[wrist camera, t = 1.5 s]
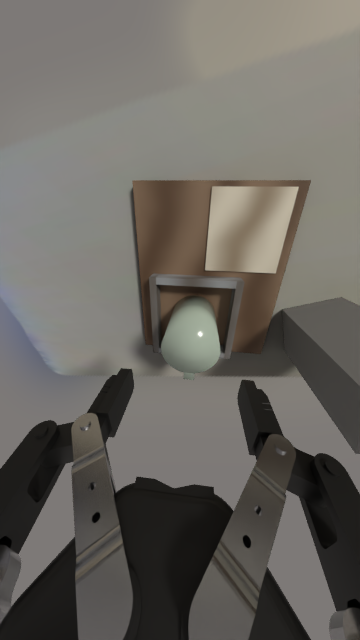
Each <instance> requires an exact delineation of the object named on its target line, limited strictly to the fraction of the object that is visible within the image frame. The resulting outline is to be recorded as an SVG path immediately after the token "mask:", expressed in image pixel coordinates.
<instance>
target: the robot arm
mask: <svg viewBox="0 0 360 640" xmlns="http://www.w3.org/2000/svg"><path fill="white" fill-rule="evenodd" d="M133 389H134V380H133V373H132V369H123V368H121V369H120V371H119V373H118V374H117V375H112V376H111V377H110V378H109V379H108V380H107V381H106V383H105V384H104V386H103V388H102V389H101V391H100V393H99V394H98V396H97V397H96V399H95V401H94V402H93V404H92V405H91V407H90V409H89V410H88V412H87V413H86V414H84V415H82V416H80V417H79V418H77V419H76V420H75V422H72V423H67V424H62V425H57V424H56V423H55V422H54V421H51V420H48V421H44V422H42V423H40V424H38V425H36V426H35V427H34V428H33V429H32V430H31V431H30V432H29V434H28V435H27V436H26V437H25V438H24V440H23V441H22V442H21V443H20V445H19V446H18V447H17V449H16V450H15V451H14V452H13V454H12V455H11V456H10V457H9V459H8V460H7V462H6V463H5V464H4V465H3V466H2V468H1V469H0V640H311V639H310V637H309V636H308V634H307V632H306V631H305V629H304V627H303V626H302V624H301V622H300V621H299V619H298V617H297V616H296V614H295V612H294V611H293V609H292V607H291V606H290V604H289V602H288V601H287V599H286V597H285V596H284V594H283V592H282V591H281V589H280V587H279V586H278V584H277V582H276V581H275V579H274V577H273V576H272V574H271V572H270V571H269V569H268V567H267V564H268V561H269V557H270V554H271V550H272V547H273V543H274V540H275V536H276V533H277V529H278V526H279V522H280V518H281V515H282V511H283V508H284V504H285V500H286V495H285V493H286V490H288V491H290V492H291V493H293V494H296V495H297V496H299V498H300V501H301V504H302V507H303V510H304V513H305V516H306V520H307V523H308V526H309V529H310V531H311V535H312V538H313V541H314V543H315V546H316V550H317V553H318V556H319V559H320V562H321V565H322V568H323V571H324V574H325V577H326V580H327V583H328V587H329V589H330V593H331V595H332V599H333V602H334V604H335V608H336V611H337V612H335V613H334V614H333V615H332V616H331V618H330V624H329V630H330V637H331V640H360V494H359V492H358V490H357V489H356V487H355V485H354V483H353V481H352V480H351V478H350V476H349V475H348V472H347V471H346V469H345V468H344V467H343V466H342V465H341V464H340V463H339V462H338V461H337V460H336V459H334V458H333V457H331V456H329V455H327V454H323V453H319V454H317V455H316V456H315V457H314V456H312V455H309V454H307V453H305V452H302V451H300V450H298V449H296V448H295V447H293V445H292V444H291V442H290V441H289V440H288V439H286V438H285V437H284V436H283V434H282V431H281V429H280V426H279V424H278V421H277V419H276V416H275V414H274V412H273V409H272V407H271V405H270V402H269V399H268V397H267V395H266V394H265V393H264V392H263V391H262V390H261V389H257V388H256V385H255V383H254V381H250V380H242V381H241V385H240V389H239V393H238V405H239V410H240V415H241V419H242V423H243V428H244V432H245V437H246V441H247V445H248V450H249V454H250V455H255V456H256V460H257V462H256V464H255V466H254V468H253V470H252V473H251V475H250V477H249V479H248V481H247V483H246V486H245V488H244V490H243V492H242V494H241V496H240V499H239V501H238V503H237V505H236V507H235V510H234V511H233V510H232V509H231V507H230V506H229V505H228V504H227V503H226V502H225V501H224V500H223V499H222V498H220V497H219V496H217V495H215V494H214V487H208V486H201V485H189V486H185V487H180V488H172V487H169V486H168V485H166V484H163V483H162V482H160V481H158V480H156V479H151V478H143V477H137V478H136V481H135V483H133V484H130V485H127V486H125V487H124V488H122V489H120V490H119V491H116V487H115V483H114V479H113V475H112V471H111V466H110V461H109V457H108V452H107V448H106V441H107V439H108V437H114V436H115V434H116V432H117V429H118V426H119V424H120V422H121V419H122V417H123V415H124V412H125V410H126V407H127V404H128V402H129V400H130V398H131V395H132V392H133ZM70 462H74V464H73V466H72V470H71V472H72V490H73V507H74V525H75V537H74V538H73V539H72V540H71V541H70V542H69V544H68V545H67V546H66V547H65V548H64V549H63V550H62V551H61V553H59V554H58V556H57V557H56V558H55V559H54V560H53V561H52V562H51V563H50V564H49V565H48V566H47V568H46V569H45V570H44V571H43V572H42V573H41V574H40V575H39V576H38V577H37V578H36V579H35V580H34V582H33V583H32V584H31V585H30V586H29V587H28V588H27V589H26V590H25V591H24V592H23V594H22V595H21V596H20V597H19V598H18V599H17V601H16V602H15V603H14V605H13V606H12V607H11V598H12V593H13V590H14V587H15V584H16V581H17V579H18V576H19V573H20V569H21V558H20V556H19V555H18V554H19V552H20V550H21V548H22V546H23V544H24V542H25V540H26V539H27V537H28V535H29V533H30V531H31V529H32V527H33V525H34V523H35V521H36V519H37V517H38V516H39V514H40V512H41V510H42V508H43V506H44V504H45V502H46V500H47V498H48V496H49V494H50V492H51V490H52V489H53V487H54V485H55V483H56V481H57V479H58V477H59V475H60V473H61V471H62V469H63V467H64V466H65V464H66V463H70Z"/></svg>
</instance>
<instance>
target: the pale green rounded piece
mask: <svg viewBox="0 0 360 640" xmlns="http://www.w3.org/2000/svg"><path fill="white" fill-rule="evenodd" d="M161 352H162V355H163V357H164V359H165V361H166V362H167V363H168V364H169V365H170V366H171V367H173V368H174V369H176V370H178V371H181V372H184V379H190V380H194V374H195V373H200V372H204V371H206V370H208V369H210V368H211V367H213V366H214V365H215V364H216V362H217V361H218V359H219V356H220V343H219V337H218V330H217V324H216V318H215V311H214V308H213V306H212V304H211V303H210V302H209V301H208V300H207V299H205V298H204V297H201V296H198V295H190V296H186V297H184V298H182V299H180V300H179V301H178V302H177V304H176V305H175V307H174V310H173V313H172V315H171V318H170V321H169V324H168V327H167V329H166V332H165V335H164V338H163V341H162V344H161Z"/></svg>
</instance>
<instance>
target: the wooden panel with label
mask: <svg viewBox="0 0 360 640" xmlns="http://www.w3.org/2000/svg"><path fill="white" fill-rule="evenodd" d="M310 182H311V180H280V181H133V194H134V206H135V218H136V230H137V243H138V255H139V267H140V280H141V292H142V304H143V316H144V329H145V341H146V344H147V345H153V352H155V353H162V352H161V344H162V341H163V338H164V335H165V332H166V329H167V327H168V324H169V321H170V318H171V315H172V313H173V310H174V307H175V305H176V304H177V302H178V301H179V300H180V299H182V298H184V297H186V296H190V295H198V296H201V297H204V298H205V299H207V300H208V301H209V302H210V303H211V304H212V306H213V308H214V311H215V318H216V324H217V330H218V337H219V343H220V356H219V358H224V359H230V355H231V352H243V353H255V354H261V352H262V348H263V345H264V341H265V338H266V334H267V331H268V327H269V324H270V320H271V317H272V314H273V310H274V307H275V303H276V300H277V296H278V293H279V289H280V286H281V282H282V279H283V276H284V272H285V269H286V265H287V262H288V258H289V255H290V251H291V248H292V244H293V241H294V237H295V234H296V231H297V227H298V224H299V220H300V217H301V213H302V210H303V206H304V203H305V199H306V196H307V193H308V189H309V186H310Z"/></svg>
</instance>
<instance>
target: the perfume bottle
mask: <svg viewBox="0 0 360 640" xmlns="http://www.w3.org/2000/svg"><path fill="white" fill-rule="evenodd" d="M282 318H283V335H284V351H285V352H286V353H287V355H288V356H289V358H290V359H291V361H292V362H293V364H294V365H295V367H296V368H297V369H298V371H299V372H300V374H301V375H302V377H303V378H304V380H305V381H306V382H307V384H308V385H309V387H310V388H311V390H312V391H313V393H314V394H315V396H316V397H317V398H318V400H319V401H320V403H321V404H322V405H323V407H324V409H325V410H326V411H327V413H328V414H329V416H330V417H331V419H332V420H333V421H334V423H335V424H336V426H337V427H338V429H339V430H340V432H341V433H342V435H343V436H344V438H345V439H346V441H347V442H348V443H349V445H350V446H351V448H352V449H353V451H354V452H355V453H356V454H360V306H359V305H357V304H355V303H353V302H351V301H348V300H346V299H344V298H342V297H340V298H335V299H330V300H325V301H321V302H316V303H311V304H306V305H301V306H296V307H291V308H287V309H282Z"/></svg>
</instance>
